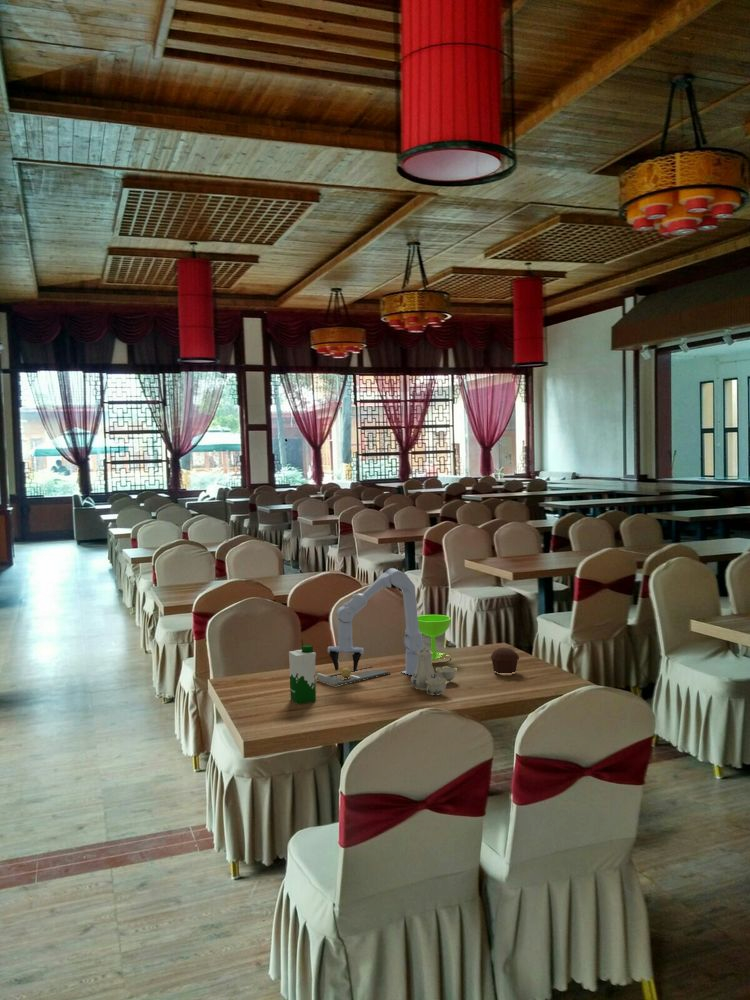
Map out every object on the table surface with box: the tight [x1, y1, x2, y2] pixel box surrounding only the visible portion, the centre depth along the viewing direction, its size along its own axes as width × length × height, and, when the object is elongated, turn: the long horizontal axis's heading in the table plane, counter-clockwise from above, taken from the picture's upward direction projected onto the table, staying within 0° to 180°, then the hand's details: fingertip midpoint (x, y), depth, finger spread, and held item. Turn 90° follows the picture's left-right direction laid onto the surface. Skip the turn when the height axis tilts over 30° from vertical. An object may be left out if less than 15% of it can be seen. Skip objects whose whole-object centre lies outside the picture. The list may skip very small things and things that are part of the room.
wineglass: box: [418, 614, 452, 661], centre depth 355 cm, size 16×16×18 cm
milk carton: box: [288, 644, 317, 705], centre depth 297 cm, size 9×9×20 cm
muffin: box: [490, 647, 520, 673], centre depth 330 cm, size 12×11×10 cm
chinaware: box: [410, 645, 458, 696], centre depth 310 cm, size 28×17×17 cm, turn 168°
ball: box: [340, 667, 351, 678], centre depth 325 cm, size 4×4×4 cm
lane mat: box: [316, 665, 391, 687], centre depth 327 cm, size 12×28×3 cm, turn 129°
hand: (345, 670), depth 325 cm, fingers open, 7 cm apart
